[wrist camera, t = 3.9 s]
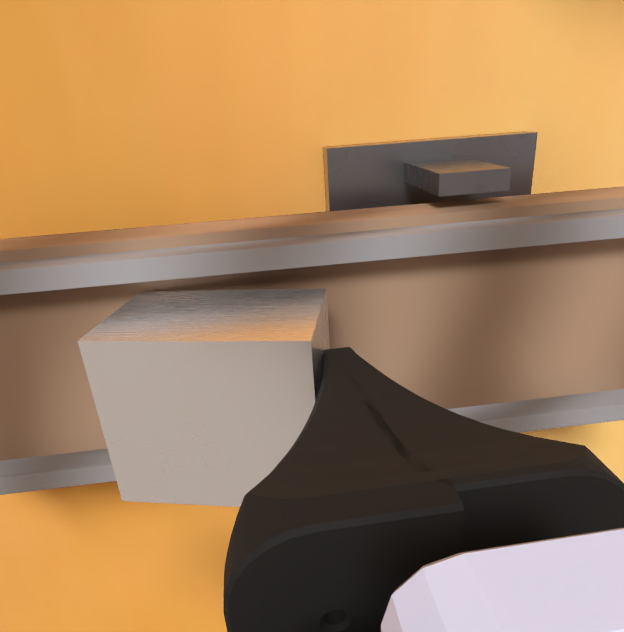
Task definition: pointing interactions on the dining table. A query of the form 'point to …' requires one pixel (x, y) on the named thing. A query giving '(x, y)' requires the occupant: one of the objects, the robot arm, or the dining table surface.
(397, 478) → the robot arm
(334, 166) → the fulcrum stand
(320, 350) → the block
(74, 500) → the dining table surface
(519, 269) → the beam
